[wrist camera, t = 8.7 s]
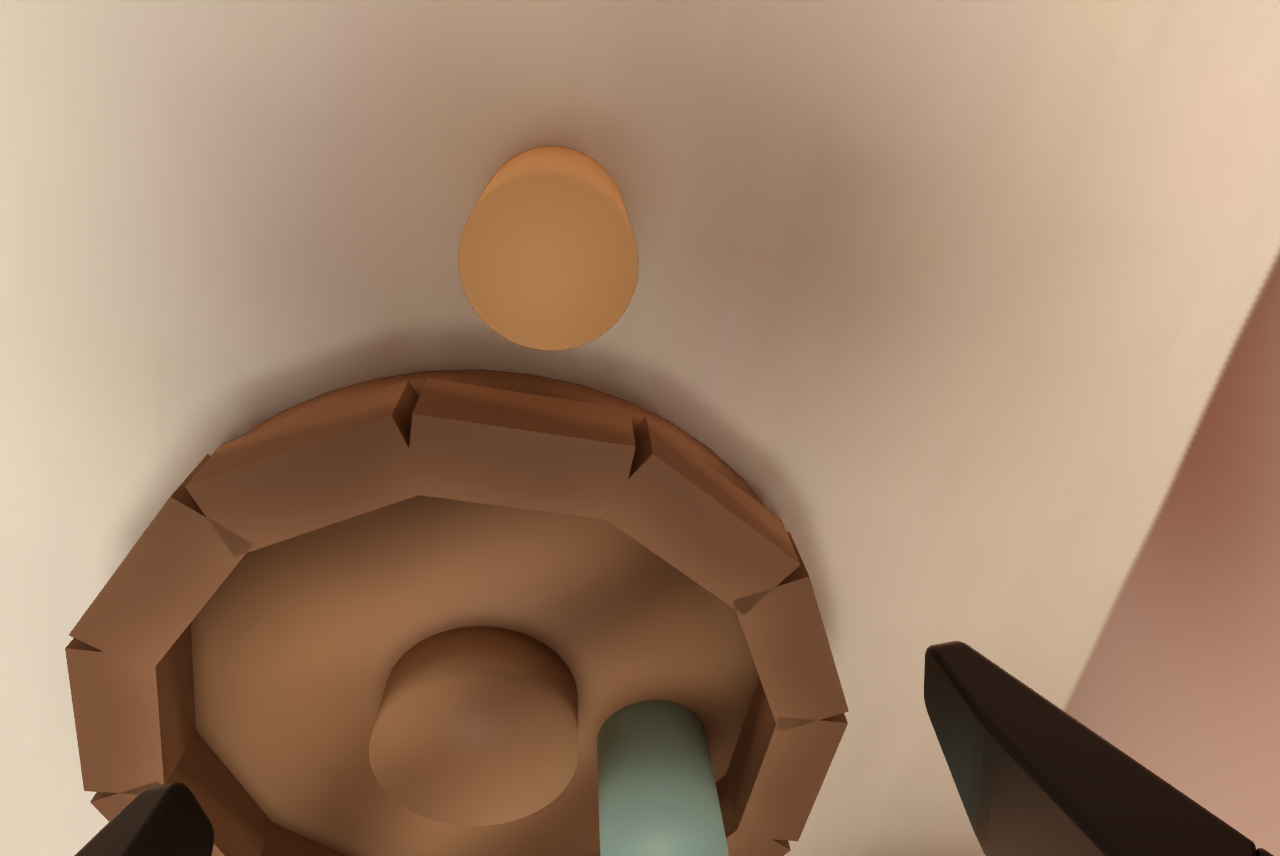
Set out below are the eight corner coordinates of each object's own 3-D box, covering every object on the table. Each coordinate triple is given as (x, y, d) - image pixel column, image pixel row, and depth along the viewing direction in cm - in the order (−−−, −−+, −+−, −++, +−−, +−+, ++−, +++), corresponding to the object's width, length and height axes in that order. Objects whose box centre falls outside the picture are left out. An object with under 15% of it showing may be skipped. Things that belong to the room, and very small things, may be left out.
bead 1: (655, 214, 19) (674, 256, 15) (564, 320, 20) (562, 382, 16) (542, 113, 18) (534, 132, 14) (451, 230, 19) (422, 276, 15)
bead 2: (619, 688, 24) (628, 805, 20) (723, 714, 24) (749, 830, 21) (580, 767, 25) (582, 890, 21) (680, 788, 26) (697, 910, 22)
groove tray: (937, 626, 25) (984, 703, 22) (540, 949, 31) (536, 1043, 28) (396, 203, 18) (363, 235, 15) (14, 719, 24) (-62, 812, 21)
